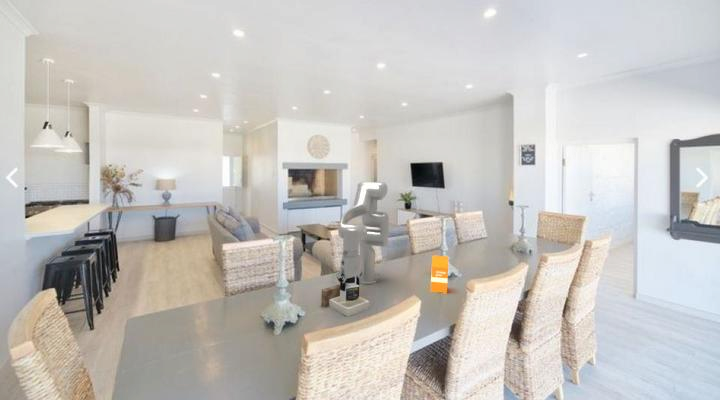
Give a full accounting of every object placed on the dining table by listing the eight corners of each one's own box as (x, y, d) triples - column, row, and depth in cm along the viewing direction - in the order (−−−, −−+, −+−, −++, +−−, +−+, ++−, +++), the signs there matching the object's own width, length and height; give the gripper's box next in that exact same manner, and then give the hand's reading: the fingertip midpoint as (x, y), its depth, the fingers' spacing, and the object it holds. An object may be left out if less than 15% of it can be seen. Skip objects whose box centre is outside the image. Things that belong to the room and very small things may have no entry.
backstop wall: (348, 296, 171) (349, 281, 170) (352, 297, 169) (352, 283, 168) (321, 305, 159) (321, 289, 158) (325, 307, 157) (325, 291, 156)
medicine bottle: (345, 302, 152) (346, 277, 151) (339, 297, 159) (340, 273, 157) (359, 300, 156) (360, 276, 154) (352, 294, 162) (353, 271, 161)
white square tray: (350, 299, 167) (350, 292, 167) (369, 308, 157) (369, 301, 157) (328, 306, 158) (328, 299, 157) (347, 316, 148) (348, 309, 147)
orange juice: (446, 293, 180) (449, 258, 178) (430, 291, 181) (432, 257, 179) (446, 288, 187) (448, 254, 185) (430, 286, 189) (432, 253, 187)
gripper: (342, 257, 146) (341, 294, 148) (369, 251, 158) (367, 286, 160) (331, 254, 152) (330, 290, 153) (358, 248, 164) (357, 282, 165)
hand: (349, 288), depth 157 cm, fingers closed on medicine bottle, 8 cm apart
